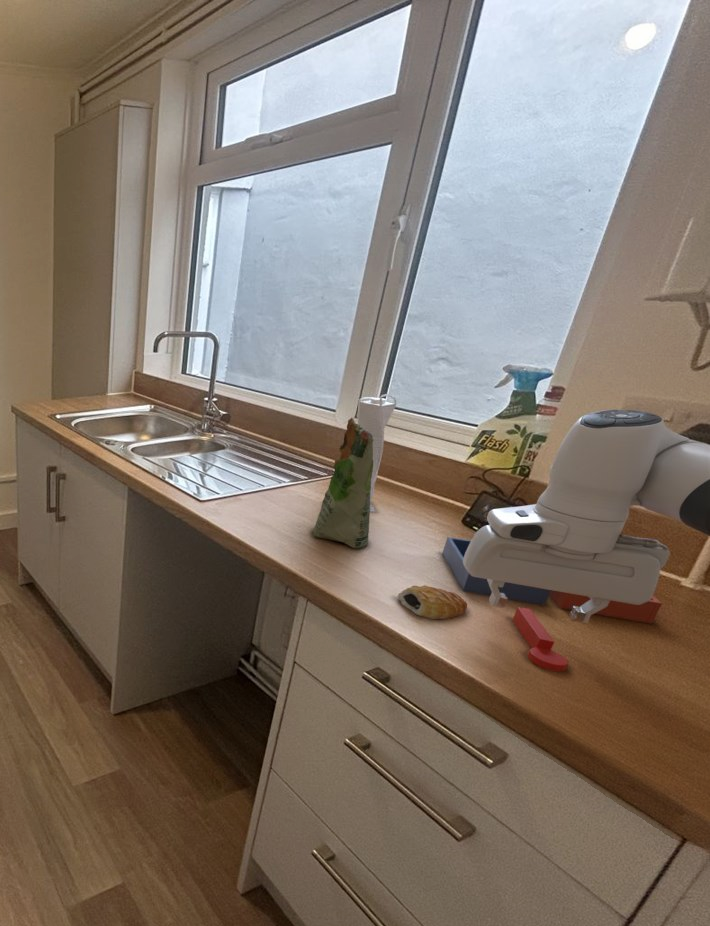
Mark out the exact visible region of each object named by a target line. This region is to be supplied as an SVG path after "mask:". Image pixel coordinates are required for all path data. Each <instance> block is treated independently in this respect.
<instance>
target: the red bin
mask: <svg viewBox="0 0 710 926" xmlns="http://www.w3.org/2000/svg"><path fill="white" fill-rule="evenodd" d="M549 598H551V599H552V600H553V602H554V603H555V604H556V605H557V607H558V608H559V609H565V610H571V608H572V606H578V607H580V606H582V605H583V604H585V603H586V602H588V601H589V600H591V599H590V598H589V597H588V596H582V595H577V594H571V593H565V592H559V591H553V590H551V592H550V595H549ZM662 605H663V602H661V600H659V599H658V598H656V597H655V596H654V595H653V596H652V598H651V599H650V600H649V601H648V602H645V603H643V604H641V605H634V604H628V603H623V602H617V601H611V600H610V602H609V604H608V606H607V607H605V608H604V609H602V610H600V611H598V612H596V613H594V614H593V615H595V614H596V615H601V616H607V617H611V618H612V617H613V618H617V619H618V618H619V619H623V620H628V621H634V622H635V621H636V622H641V623H647V624H653V622H654V620H655V619H656V617H657V614H658V613H659V611H660V608H661V606H662Z"/></svg>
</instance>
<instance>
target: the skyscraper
mask: <svg viewBox="0 0 710 926" xmlns="http://www.w3.org/2000/svg"><path fill="white" fill-rule="evenodd" d="M384 397H390V398H392V399H393V402H387V399H386V398H384ZM396 406H397V400H396V398H395V396H394V395H393V394H390V393H384V394H381V395H380V396H379V397H374V396H364V397H360V398H359V399H358V401H357V424H358V425H359V424H360V428H363V430H366V431H368V432H369V433H370V434H371V435H372V436H373V437H372V438H373V440H374V441H373V472H372V478H371V492H370V493H371V494H370V513H376V509H375V508H374V506H373V504H372V501H373V500H372V499H373V496H374V494H375V485H376V482H377V478H378V475H379V473H378V472H379V469H380V466H381V462H382V457H383V454H384V453H383V452H384V447H385V446H384V443H385V428H386V426H387V425H388V422H389V420H390V418H391V416H392V414H393V412H394V410H395V408H396Z"/></svg>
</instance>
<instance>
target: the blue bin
mask: <svg viewBox="0 0 710 926" xmlns="http://www.w3.org/2000/svg"><path fill="white" fill-rule="evenodd" d="M471 540H472V539H471ZM471 540H470V539H464V538H457V537H449V536H447V538H446V541H445V544H444V547H443V550H442V553H441V555H442V557H443V558H444V560H445V562H446V563H447V565H448V567H449V569H450V571H451V573H452V575H453V576H454V578H455V580H456V581H457V583H458V585H459V587H460V588H461V590H462V591H463V592H467V593H474V594H478V595H485V596H489V597H490V596H491V593H492V591H491V589H490V586H489V583H488V581H487V579H484V578H478V577H473V576H471V575H470V574H469V572H468V571H467V570H466V568H465V567H464V564H463V558H464V555H465V553H466V550H467V548H468V546H469V544H470V542H471ZM498 589H499V592H500V593H504V594H505V595H506V597H507V598H508V600H514V601H520V602H525V603H531V604H537V605H542V606H545V605H546V604H547V601H548V599H549V598H550V596H549V595H550V592H551V590H548V589H542V588H536V587H530V586H525V585H519V584H513V583H507V582H505V583H504V586H503V587H502V588H501V587H498Z"/></svg>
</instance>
